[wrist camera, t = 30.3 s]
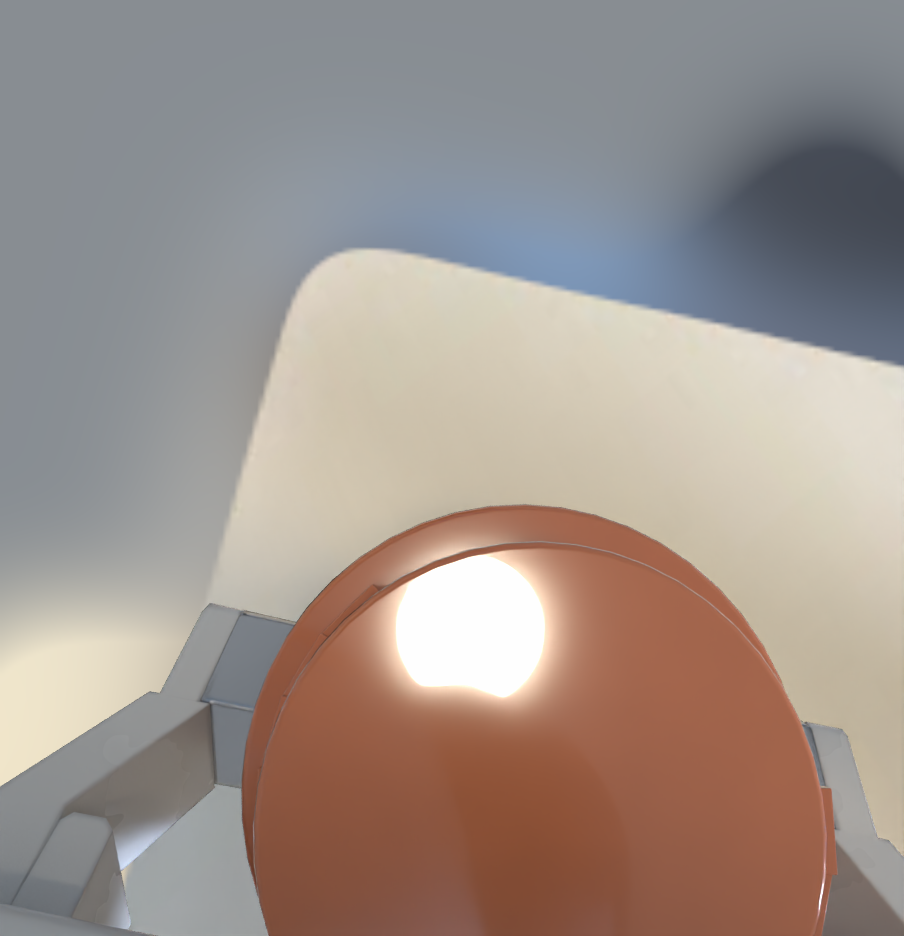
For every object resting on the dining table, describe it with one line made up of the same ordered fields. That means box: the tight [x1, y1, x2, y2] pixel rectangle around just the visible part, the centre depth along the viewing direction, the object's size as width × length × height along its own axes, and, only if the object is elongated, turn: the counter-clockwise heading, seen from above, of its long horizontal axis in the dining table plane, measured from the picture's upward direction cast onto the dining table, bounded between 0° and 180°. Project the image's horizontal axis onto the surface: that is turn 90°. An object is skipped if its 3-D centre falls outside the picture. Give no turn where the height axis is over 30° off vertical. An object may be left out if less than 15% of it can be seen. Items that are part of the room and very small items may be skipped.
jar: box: [241, 504, 838, 936], centre depth 12 cm, size 6×6×11 cm
